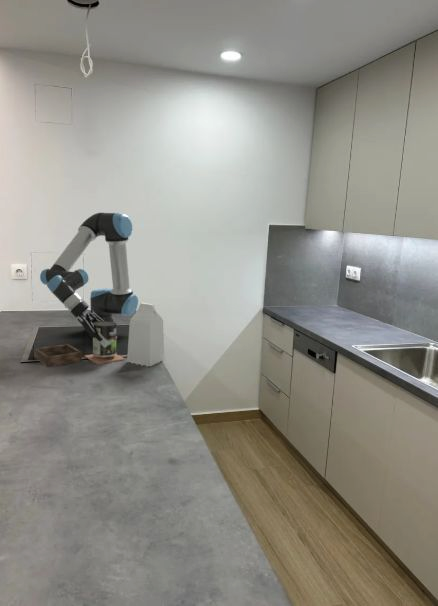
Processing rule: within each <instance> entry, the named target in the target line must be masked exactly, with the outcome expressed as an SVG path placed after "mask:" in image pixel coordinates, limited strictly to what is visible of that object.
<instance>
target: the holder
mask: <svg viewBox="0 0 438 606" xmlns="http://www.w3.org/2000/svg"><path fill="white" fill-rule="evenodd" d="M59 354H60V355H59ZM33 358H34V359H36V360H37V359H38V360H39V361H38V360H37V361H38V362H39V363H41V364H42V365H43V366H45V367H46V368H50V367H56V366H61V365H66V364H72V363H73V364H74V363H79V362H83V352H82V351H81V350H80V349H78V348H76V347H74V346H72V345H71V344H69V343H66V344H59V345H51V346H43V347H38V348H37V347H36V348H33Z"/></svg>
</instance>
